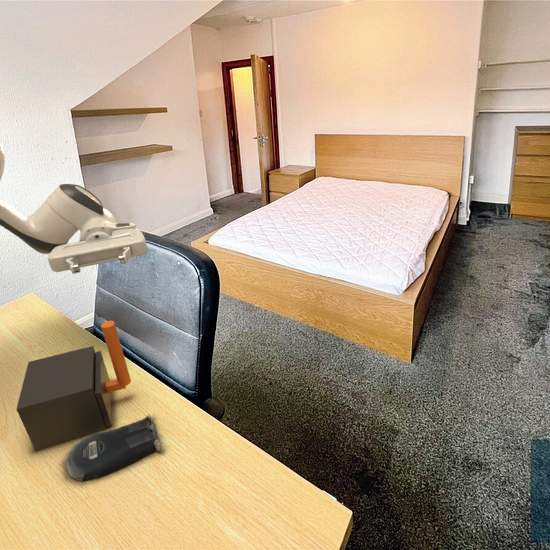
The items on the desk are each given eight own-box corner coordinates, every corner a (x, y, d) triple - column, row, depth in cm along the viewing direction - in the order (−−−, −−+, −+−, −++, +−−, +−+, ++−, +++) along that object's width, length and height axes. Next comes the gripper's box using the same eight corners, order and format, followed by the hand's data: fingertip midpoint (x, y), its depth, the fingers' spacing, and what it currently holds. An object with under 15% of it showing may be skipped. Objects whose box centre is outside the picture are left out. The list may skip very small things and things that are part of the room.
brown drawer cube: (106, 386, 89) (93, 345, 84) (107, 433, 77) (92, 388, 72) (45, 404, 85) (28, 361, 80) (37, 455, 73) (16, 409, 69)
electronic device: (151, 426, 80) (66, 449, 73) (151, 406, 77) (62, 428, 71) (162, 466, 73) (69, 496, 66) (162, 445, 70) (64, 475, 63)
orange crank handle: (132, 375, 90) (113, 305, 82) (137, 417, 78) (115, 341, 71) (53, 397, 85) (24, 325, 77) (46, 445, 74) (11, 367, 66)
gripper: (47, 238, 92) (39, 262, 80) (141, 221, 98) (146, 241, 86) (56, 263, 95) (49, 289, 83) (146, 245, 101) (152, 268, 89)
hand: (99, 265), depth 85 cm, fingers open, 8 cm apart
